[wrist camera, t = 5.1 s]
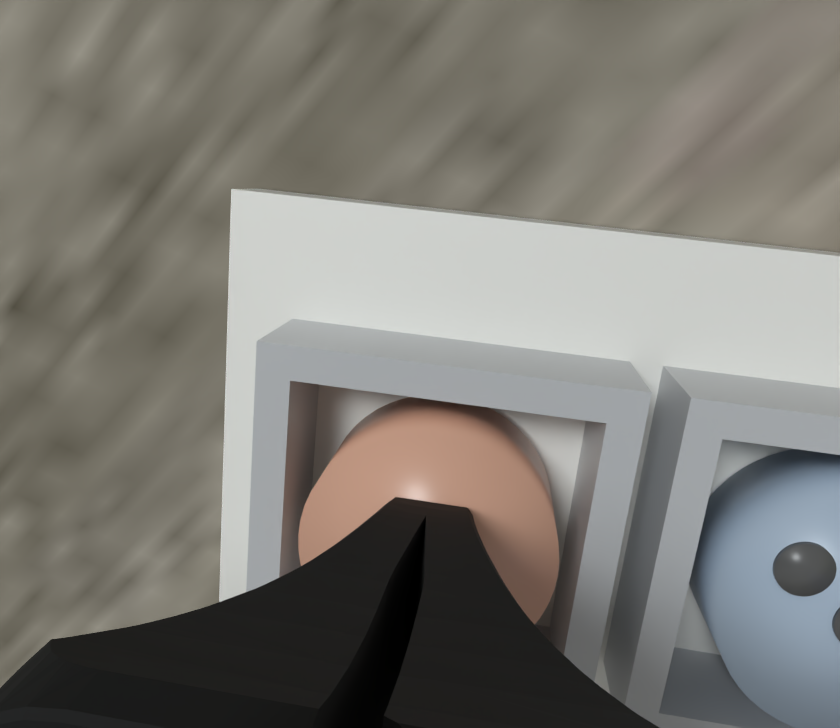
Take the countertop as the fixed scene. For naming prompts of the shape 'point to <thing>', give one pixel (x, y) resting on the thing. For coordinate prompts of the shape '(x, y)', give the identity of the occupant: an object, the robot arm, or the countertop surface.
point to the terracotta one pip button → (444, 487)
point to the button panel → (534, 397)
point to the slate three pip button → (776, 584)
